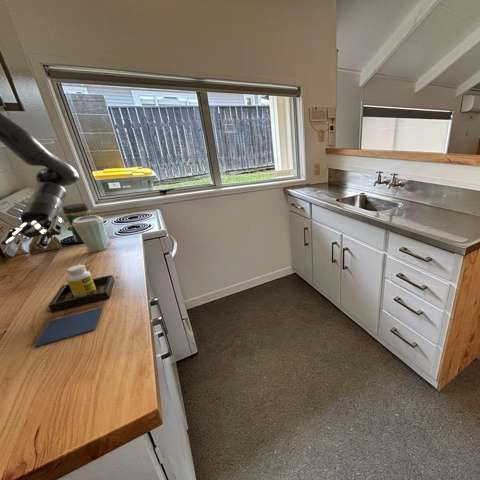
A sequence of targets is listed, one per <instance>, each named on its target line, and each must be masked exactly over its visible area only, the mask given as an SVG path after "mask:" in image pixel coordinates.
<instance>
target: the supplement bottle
mask: <svg viewBox="0 0 480 480" xmlns="http://www.w3.org/2000/svg"><path fill="white" fill-rule="evenodd" d="M66 272H67V274H68V275H67V277H66V282H67V284H69V286H70V288H71V291H72V292H71V293H72V295H73V298H77V297H82V296H86V295H90V294H94V293H98V291H97V287H96V286H95V285H94V282H93V279H94V278H93V277H92V274H91V272H90V271H88V270H87V269H86V266H85V264H77V265H72V266H71V267H68V268H67V269H66Z"/></svg>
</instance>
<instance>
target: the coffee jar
mask: <svg viewBox="0 0 480 480" xmlns="http://www.w3.org/2000/svg"><path fill="white" fill-rule="evenodd" d="M62 210H63V215H64V217H65V218H67V221H68V222H69V226H70V228H71V233H72V237H73V239H74V242H75V243H76V244H77V243H78V244H82V243H84V242H83V240H82V239H81V237H80V236H79V234H78V233H77V231H76V230H75V228H74V227H73V226H72V223H73V220H74V219H76V218H79V217H84V216H90V215H91V210H90V207H89V206H88V204H87V203H85V202H80V203H71V204H66V205H62Z"/></svg>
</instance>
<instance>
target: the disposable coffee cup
mask: <svg viewBox="0 0 480 480" xmlns="http://www.w3.org/2000/svg"><path fill="white" fill-rule="evenodd" d="M104 224H105V223H104V218H103V217H101V216H100V215H97V214H96V215H95V214H90V216H84V217H79V218H76V219H74V220H73V223H72V226H73V227H74V228H75V230H76V231H77V233H78V234H79V236H80V237H81V239H82V240H83V242H82V243H83V244H84V245H85V247H86V248H87V250H88V251H89V252H92V253H94V252H101V251H103V250H106V249H107V248H108V240H107V235H106V229H105V225H104Z"/></svg>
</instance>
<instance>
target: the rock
mask: <svg viewBox="0 0 480 480" xmlns="http://www.w3.org/2000/svg"><path fill="white" fill-rule="evenodd" d="M42 235H43V234H42ZM39 237H40V236H35V237H32V238H31V239H32V240H31V242H29V244H28V254H29V255H33V254H34V255H35V254H39V253H43V252H48V251H51V250H55V249H58V248H61V247H62V245H63V244H62V243H61V241H60V240H59V239H58V237H57V236H56V235H54V237H53V238H51V240H50V242H49V245H48V246H47V248H45V249H42V248H40V247H38V246H37V245H36V244H37V242H38V239H39Z"/></svg>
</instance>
